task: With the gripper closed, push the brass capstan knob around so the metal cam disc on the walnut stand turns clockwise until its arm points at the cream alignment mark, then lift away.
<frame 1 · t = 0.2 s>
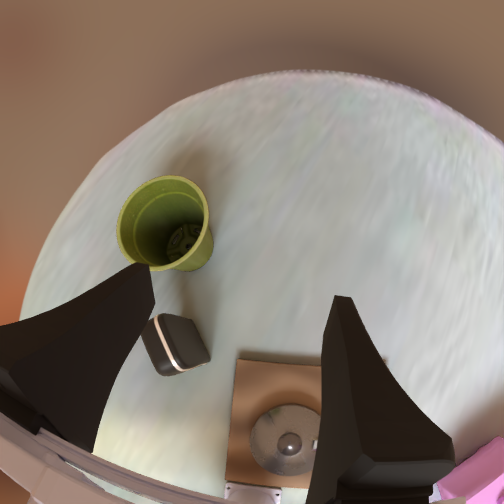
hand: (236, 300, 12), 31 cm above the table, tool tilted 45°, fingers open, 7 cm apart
stand: (306, 428, 38), on the table
teapot: (461, 481, 31), on the table
battery charger: (190, 344, 43), on the table
plant pot: (189, 247, 47), on the table
cam disc: (314, 446, 33), point 4 cm above the table, hinge at 0.0°
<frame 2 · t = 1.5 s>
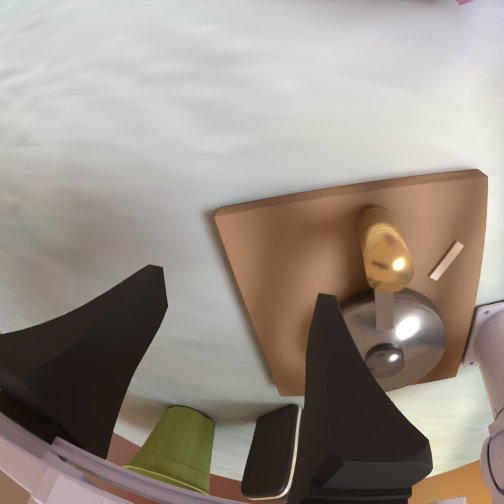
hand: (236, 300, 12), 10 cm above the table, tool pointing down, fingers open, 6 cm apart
stand: (366, 305, 24), on the table
battery charger: (286, 414, 35), on the table
plant pot: (190, 417, 40), on the table
cam disc: (385, 334, 19), point 4 cm above the table, hinge at 0.0°
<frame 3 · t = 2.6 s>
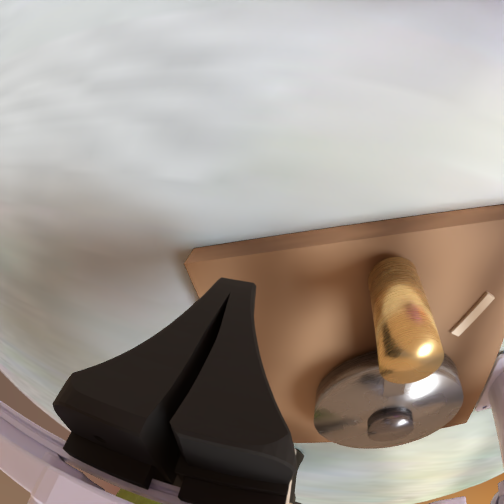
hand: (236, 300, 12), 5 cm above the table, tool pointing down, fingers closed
stand: (372, 358, 19), on the table
battery charger: (279, 453, 31), on the table
plant pot: (179, 448, 36), on the table
cam disc: (394, 402, 15), point 4 cm above the table, hinge at 0.0°
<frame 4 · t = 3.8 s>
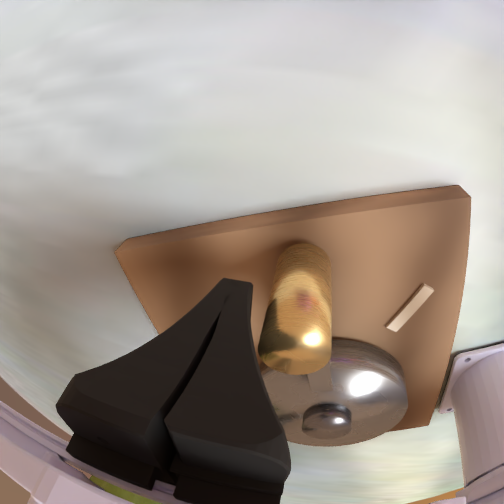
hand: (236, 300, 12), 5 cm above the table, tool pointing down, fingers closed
stand: (311, 351, 20), on the table
plant pot: (150, 440, 36), on the table
cam disc: (321, 398, 15), point 4 cm above the table, hinge at -0.1°, touching gripper
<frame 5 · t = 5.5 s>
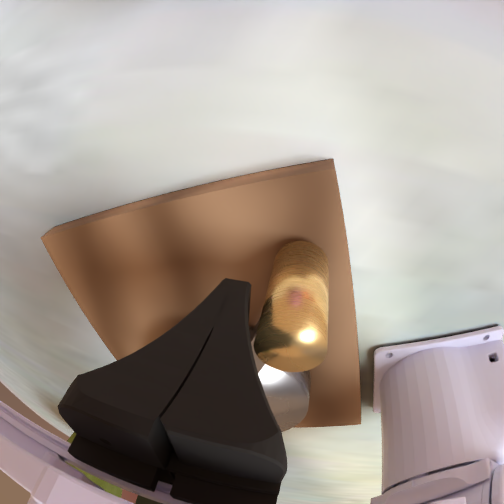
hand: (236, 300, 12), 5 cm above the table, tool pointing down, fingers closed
stand: (217, 335, 21), on the table
plant pot: (111, 425, 37), on the table
cam disc: (240, 384, 16), point 4 cm above the table, hinge at -35.9°, touching gripper
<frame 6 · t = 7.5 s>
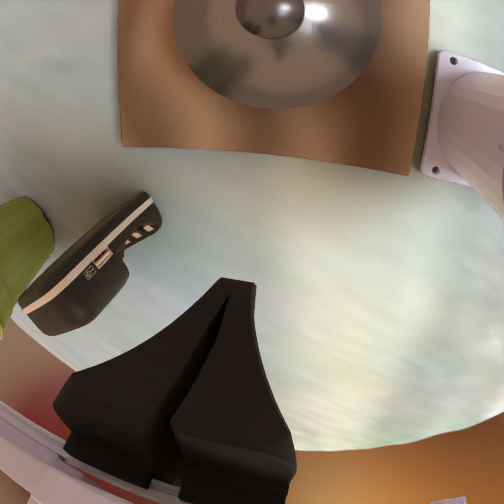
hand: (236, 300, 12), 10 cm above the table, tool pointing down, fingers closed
battery charger: (135, 223, 25), on the table
plant pot: (34, 226, 28), on the table
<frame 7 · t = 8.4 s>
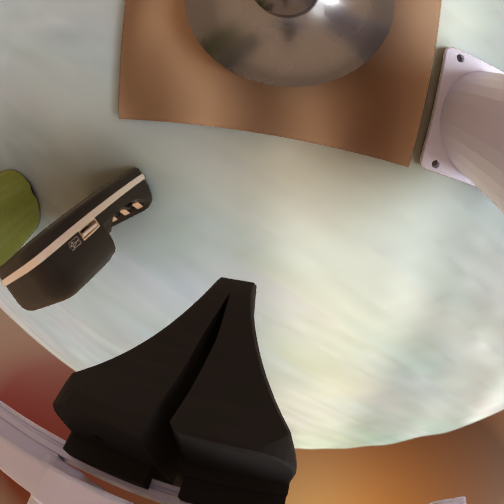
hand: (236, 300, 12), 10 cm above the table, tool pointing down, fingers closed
battery charger: (124, 201, 24), on the table
plant pot: (20, 200, 26), on the table
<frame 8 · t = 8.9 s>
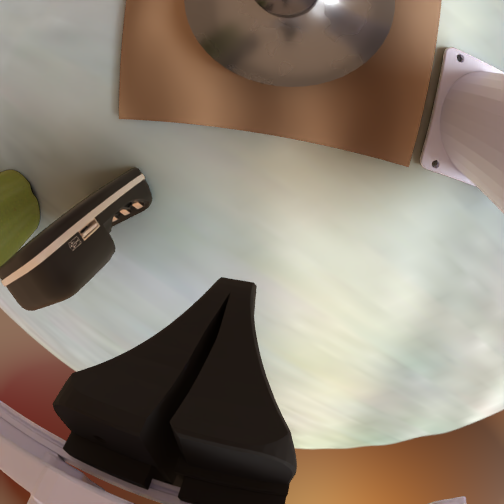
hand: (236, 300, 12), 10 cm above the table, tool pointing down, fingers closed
battery charger: (124, 201, 24), on the table
plant pot: (20, 200, 26), on the table
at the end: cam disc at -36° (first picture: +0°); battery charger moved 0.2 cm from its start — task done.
